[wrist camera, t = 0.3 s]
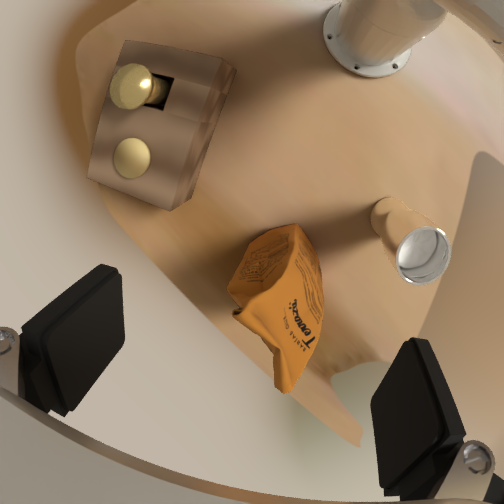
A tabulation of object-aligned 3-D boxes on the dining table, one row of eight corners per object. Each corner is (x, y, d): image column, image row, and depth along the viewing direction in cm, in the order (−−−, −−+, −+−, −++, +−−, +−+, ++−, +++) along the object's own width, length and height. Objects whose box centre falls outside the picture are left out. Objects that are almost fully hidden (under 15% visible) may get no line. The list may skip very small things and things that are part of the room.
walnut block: (152, 51, 38) (122, 38, 30) (236, 70, 38) (220, 57, 30) (116, 169, 46) (83, 178, 38) (191, 198, 46) (167, 213, 38)
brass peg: (149, 69, 33) (118, 60, 26) (183, 77, 33) (157, 67, 26) (137, 106, 36) (104, 104, 29) (170, 115, 36) (141, 113, 29)
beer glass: (391, 249, 44) (422, 298, 30) (357, 221, 43) (380, 263, 29) (420, 214, 41) (464, 251, 27) (387, 184, 40) (424, 210, 27)
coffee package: (270, 306, 50) (247, 410, 30) (241, 237, 47) (193, 319, 27) (329, 289, 48) (339, 393, 27) (304, 215, 44) (302, 290, 24)
